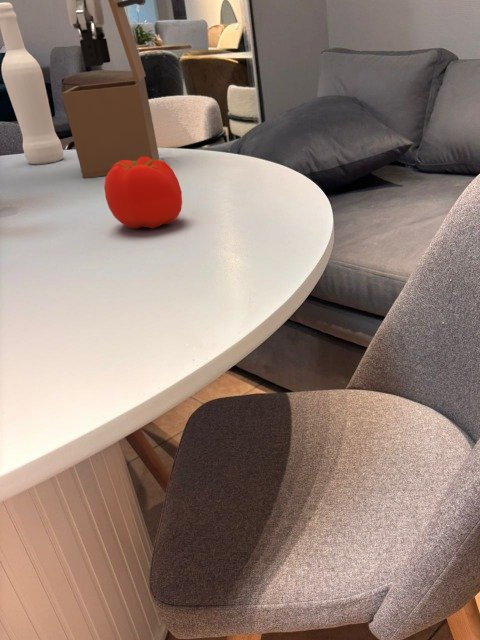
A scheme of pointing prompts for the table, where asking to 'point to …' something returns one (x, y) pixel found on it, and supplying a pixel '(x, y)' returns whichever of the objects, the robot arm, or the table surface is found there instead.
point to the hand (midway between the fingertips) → (98, 64)
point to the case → (110, 125)
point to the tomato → (143, 193)
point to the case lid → (128, 36)
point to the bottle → (27, 94)
